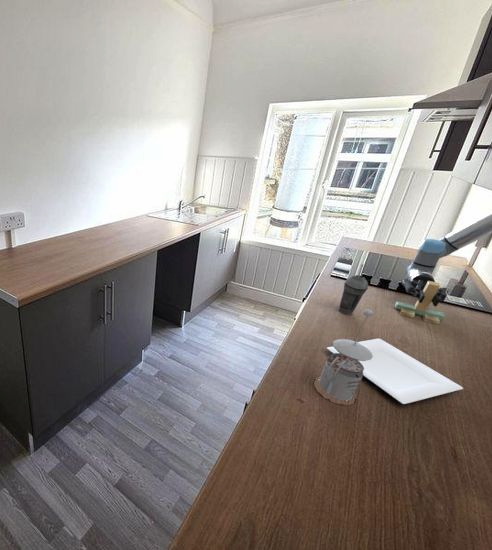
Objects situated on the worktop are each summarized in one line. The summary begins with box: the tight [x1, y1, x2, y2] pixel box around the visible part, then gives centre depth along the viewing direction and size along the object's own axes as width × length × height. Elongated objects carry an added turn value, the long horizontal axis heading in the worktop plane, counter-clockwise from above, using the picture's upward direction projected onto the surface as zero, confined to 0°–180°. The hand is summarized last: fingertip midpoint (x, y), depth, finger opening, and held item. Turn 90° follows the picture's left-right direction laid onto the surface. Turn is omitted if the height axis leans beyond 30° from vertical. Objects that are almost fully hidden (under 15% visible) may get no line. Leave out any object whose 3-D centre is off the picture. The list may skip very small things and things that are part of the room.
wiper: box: [394, 281, 446, 322], centre depth 114 cm, size 14×3×14 cm, turn 52°
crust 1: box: [399, 308, 416, 319], centre depth 116 cm, size 4×4×2 cm
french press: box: [318, 309, 375, 401], centre depth 73 cm, size 10×12×25 cm
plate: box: [326, 338, 464, 405], centre depth 86 cm, size 22×22×2 cm
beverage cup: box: [338, 263, 369, 316], centre depth 113 cm, size 7×7×20 cm
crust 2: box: [422, 314, 441, 326], centre depth 113 cm, size 4×4×2 cm
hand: (429, 301), depth 109 cm, fingers open, 3 cm apart
